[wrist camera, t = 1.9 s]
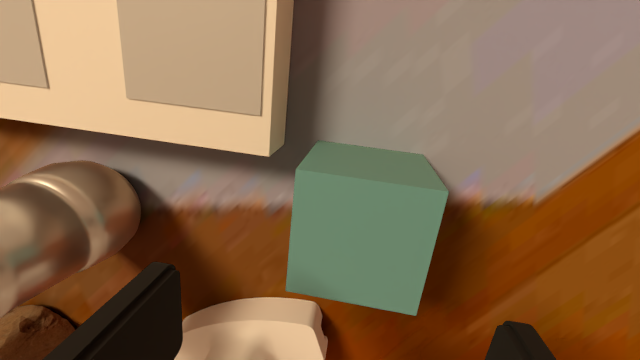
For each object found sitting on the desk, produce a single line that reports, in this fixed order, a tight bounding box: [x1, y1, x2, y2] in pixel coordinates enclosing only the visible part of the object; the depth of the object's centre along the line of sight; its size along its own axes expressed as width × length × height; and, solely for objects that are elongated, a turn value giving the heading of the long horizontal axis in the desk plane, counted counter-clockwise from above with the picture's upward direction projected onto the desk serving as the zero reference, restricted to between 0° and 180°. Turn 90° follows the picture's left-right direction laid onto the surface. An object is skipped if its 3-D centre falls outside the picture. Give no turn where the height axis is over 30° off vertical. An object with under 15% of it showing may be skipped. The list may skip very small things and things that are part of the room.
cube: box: [286, 140, 449, 316], centre depth 16 cm, size 6×6×6 cm
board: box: [0, 0, 294, 157], centre depth 16 cm, size 22×11×3 cm, turn 84°
